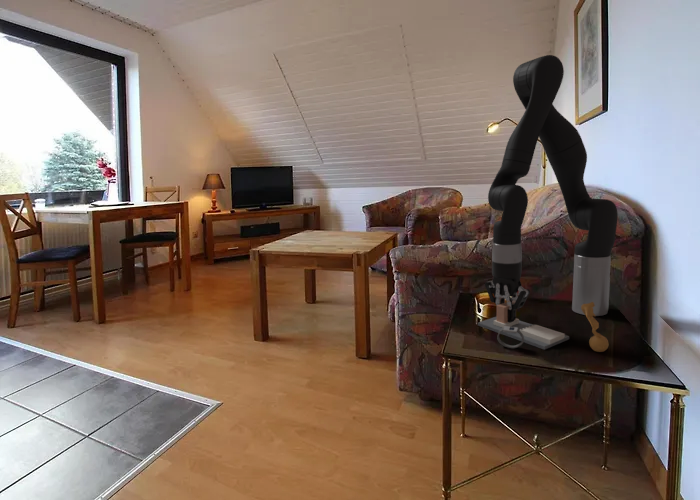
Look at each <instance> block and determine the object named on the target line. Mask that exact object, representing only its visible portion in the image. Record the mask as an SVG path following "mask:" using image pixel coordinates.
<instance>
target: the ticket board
mask: <svg viewBox="0 0 700 500" xmlns="http://www.w3.org/2000/svg"><path fill="white" fill-rule="evenodd" d="M494 320H497V315H496V316H494V317H491V318H488V319H485V320H482V321H479V322H477V326H479V327H481V328H484V329H486V330H487V329H488V330H490V331H493V332H495V333H499V331H500V330H501V329H502V327H499V326H496V325H493V321H494ZM510 327H517V328H518V330H520V331H521V333H522V334H523V336H524V342H523V343H525V344H528V345H530V346H533V347H535V348H539V349H542V350H544V351H545V350H547V349H550V348H552V347H555V346H557V345H559V344H561V343H563V342H566V341H568V340H570V336H569V335H567V334H566V333H563V332H560V331H557V330H554V329H551V328H549V327H548V328H547V327H544V326H541V325H538V324H534V323H533V324H532V323H528V322H525V321H522V320H520V319H519V323H518V324H515V325H513V326H510ZM500 335H503V336H506V337H509V338H512V339H514V340H517V341H520V342H522V338H521V336H520V334H519V333H518V332H517V333H508V332H503V331H502V332H501V333H500Z"/></svg>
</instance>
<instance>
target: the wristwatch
mask: <svg viewBox="0 0 700 500" xmlns="http://www.w3.org/2000/svg"><path fill="white" fill-rule="evenodd" d="M502 331H503V332H508V333H517V332H518V333H519V334H520V336H521V338H522V341H520V343H518V344H516V345H515V344H514V345H510V344H507V343H505V342H504V341H503V340H501V338H500V335H501V334H500V333H501V332H502ZM496 339H497V342H498V343H499V344H500V345H501V346H503V347H505V348H508V349H517V348H519V347H521V346H522V345H523V344H524V343H525V342H524V336H523V334H522V333H521V331H520V330H518V328H517V327H508V326H504V328H502V329H501V330H500V331H499V333H498V334H497V336H496Z"/></svg>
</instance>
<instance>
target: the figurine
mask: <svg viewBox="0 0 700 500" xmlns="http://www.w3.org/2000/svg"><path fill="white" fill-rule="evenodd" d="M594 306H595V305H594V302H590V303H588V304H583V305H582V306H581V309H582V311H583V313H584V314H585V315H584V316H585V318H587V320H588V322H589V323H590V325H591V326H590V327H591V328H592V330H591V333H592V334H593V336H590V339H589V341H588V343H589V344H588V345H589V347H590V348H591V349H592V350H593V351H594V352H597V353H603V352H605V351H606V350H607V349H608V348H609V340H608V339H607V337H606V336H604V335H602V334H601V333H599V332H598V331H597V330H598V329H599V328H600V325H599V324H600V323H599V321H597V320H596V317H597V316H595V314H594V313H593V307H594Z"/></svg>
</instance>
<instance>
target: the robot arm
mask: <svg viewBox="0 0 700 500" xmlns="http://www.w3.org/2000/svg"><path fill="white" fill-rule="evenodd" d="M564 74H565V70H564V64H563V62H562V61H561V59H560V58H559V57H557V55H552V54H547V55H542V56H539V57H536V58H533V59H531V60H528V61H525V62H523V63H522V64H520V65H518V66H517V67H516V68H515V71H514V73H513V77H512V79H513V80H512V83H513V87H514V91H515V93H516V94H517V97H518V98H519V100H520V102H521V104H522V105H523V108H524V109H525V111H524V113H523V115H522V116H521V119H520V120H519V121H518V123H517V124H516V126H515V128H514V130H513V131H512V133H511V134H510V137H509V138H508V140H507V143H506V146H505V150H504V154H503V158H502V162H501V166H500V168H499V170H498V172H497V173H496V175H495V177H494V179H493V180H492V181H493V182H492V183H491V185H490V188H489V189H488V194H487V195H488V196H487V199H488V205H489V207H490V208H491V209H493V210H494V211H499V212H502V216H501V220H498V221H496V222H495V223H494V224H493V229H492V234H493V235H492V250H491V268H492V269H491V275H492V280H489V281H486V282H485V283H484V286H485V289H486V291H487V294H488V297H489V300H490V302H491V303H494V304H495V306H496V307H497V305H500V304H503V303H506V302H507V304H508V316H507V321H508V322H513V321H514V320H515V319H517V310H518V309H520V308H523V307H524V305H525V304H526V301H527V300H528V297H529V296H530V294H531V290H530V289H529V288H527V289H526V288H525V287H523V285H522V281H521V277H522V269H523V267H522V261H523V258H522V257H523V256H522V255H523V252H522V251H523V249H522V226H523V223H524V219H525V216H526V212H527V208H528V206H529V205H528V203H529V202H528V201H529V200H528V199H529V197H528V193H527V191H526V189H525V188H524V187H523V186H521V185H519V184H517V182H518V181H519V179H521V178H523V177H526V176H527V175H528V174H529V172H530V169H531V165H532V161H533V158H534V154H535V151H536V147H537V143H538V140H540V142H541V145H542V147H543V150H544V152H545V156H546V157H547V160H548V162H549V164H550V167H551V169H552V171H553V174H554V175H555V179H556V181H557V183H558V186H559V188H560V190H561V195H562V196H563V201H564V204H565V208H566V210H567V215H568V218H569V220H570V222H571V224H572V226H574V227H575V228H577V229H579V230H583V231H587V237H586V240H584V241H582V242H577V243H576V244H575V246H574V257H573V280H572V283H573V284H572V303H571V310H572V311H573V312H574V313H577V314H580V315H584V316H586V315H585V314H584V313H583V311H582V309H581V306H582V305H583V304H588V303H590V302H594V305H595V306H594V307H593V313H594V314H595V316H596V317H599V316H600V317H601V316H604V315H607V314H608V311H609V303H610V301H609V300H610V289H611V287H610V285H611V282H610V281H611V279H610V277H611V273H610V272H611V258H612V256H611V255H612V249H613V247H614V245H615V242H616V233H617V226H618V218H619V216H618V215H619V214H618V209H617V206H616V204H615V203H614V202H613V201H612V200H610V199H603V198H592V197H591V196H590V195H589V192H588V190H587V188H586V184H585V182H584V181H585V180H584V175H585V171H586V166H587V162H588V154H587V153H588V152H587V149H586V148H585V147H586V146H585V143H584V141H583V140H582V136H581V135H580V132H579V130H578V129H577V128H576V127H575V126H574V124H572V123H571V122H570V121H569V120H568V119H567V118H565V117H564V115H562V114H561V113H560V112H559V110H557V108H556V107H555V106H554V102H555V99H556V97H557V94H559V93H558V92H559V90H560V88H561V84H562V83H563V79H564Z"/></svg>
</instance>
